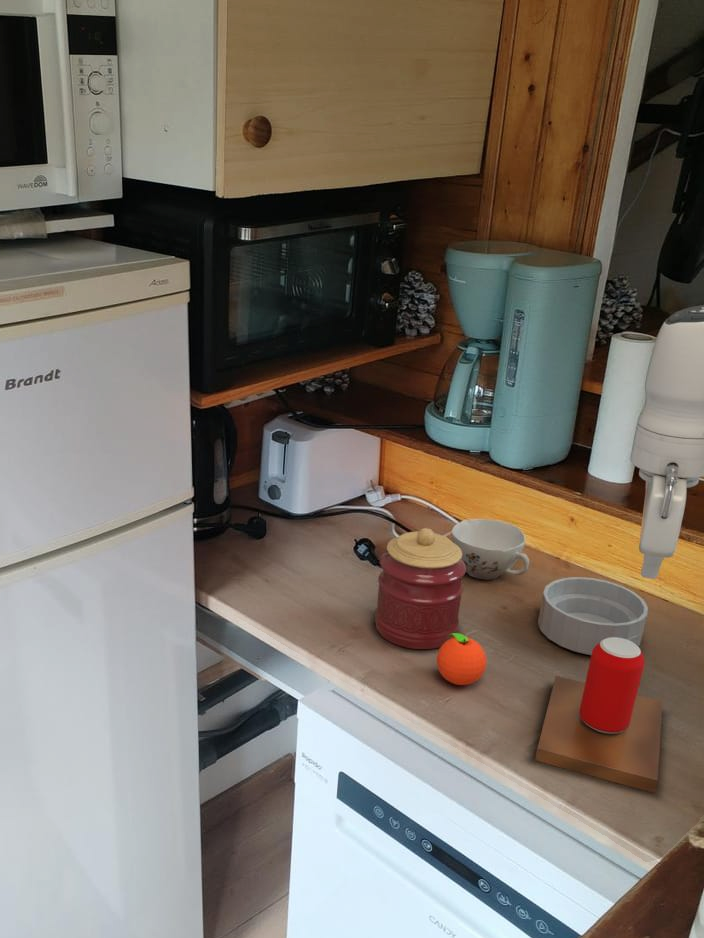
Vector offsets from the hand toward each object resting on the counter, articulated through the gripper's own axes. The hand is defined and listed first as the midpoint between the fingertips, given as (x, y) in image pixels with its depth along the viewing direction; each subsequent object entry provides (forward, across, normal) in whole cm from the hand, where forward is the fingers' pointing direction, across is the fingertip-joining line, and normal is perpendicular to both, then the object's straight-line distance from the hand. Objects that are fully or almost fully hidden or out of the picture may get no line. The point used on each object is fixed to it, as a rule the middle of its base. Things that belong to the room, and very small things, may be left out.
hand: (650, 559), depth 109 cm
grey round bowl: (+26, +26, +5) cm, 37 cm away
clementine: (+26, +4, +22) cm, 34 cm away
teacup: (+26, +39, +23) cm, 52 cm away
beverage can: (+24, -1, +1) cm, 24 cm away
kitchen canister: (+26, +15, +30) cm, 43 cm away
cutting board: (+26, -1, +2) cm, 26 cm away
